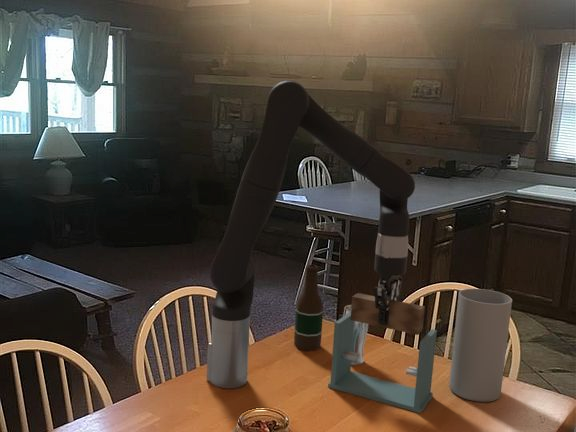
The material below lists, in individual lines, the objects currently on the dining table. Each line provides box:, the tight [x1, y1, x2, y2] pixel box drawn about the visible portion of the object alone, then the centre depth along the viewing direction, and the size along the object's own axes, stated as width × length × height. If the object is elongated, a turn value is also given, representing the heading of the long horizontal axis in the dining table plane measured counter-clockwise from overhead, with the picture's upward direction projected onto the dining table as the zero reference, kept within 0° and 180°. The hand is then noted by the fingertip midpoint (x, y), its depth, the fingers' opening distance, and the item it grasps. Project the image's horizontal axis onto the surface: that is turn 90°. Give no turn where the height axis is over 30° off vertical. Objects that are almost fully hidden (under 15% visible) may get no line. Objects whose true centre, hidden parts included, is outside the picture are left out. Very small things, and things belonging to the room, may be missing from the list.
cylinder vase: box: [448, 288, 513, 403], centre depth 155 cm, size 12×12×25 cm
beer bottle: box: [293, 264, 324, 352], centre depth 179 cm, size 8×8×24 cm
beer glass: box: [342, 304, 369, 366], centre depth 171 cm, size 7×7×15 cm
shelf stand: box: [327, 312, 438, 414], centre depth 152 cm, size 24×10×17 cm, turn 62°
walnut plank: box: [351, 292, 426, 336], centre depth 150 cm, size 17×4×6 cm, turn 62°
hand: (385, 321), depth 151 cm, fingers closed on walnut plank, 3 cm apart
